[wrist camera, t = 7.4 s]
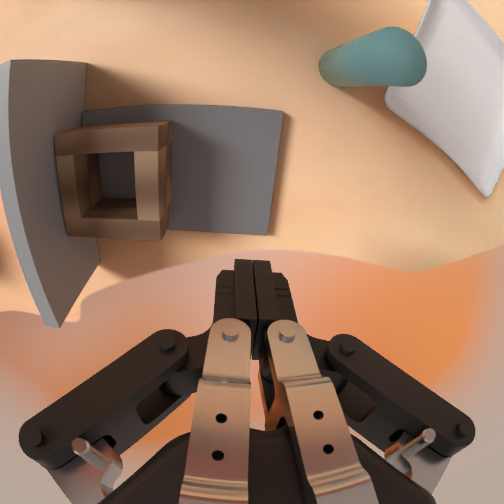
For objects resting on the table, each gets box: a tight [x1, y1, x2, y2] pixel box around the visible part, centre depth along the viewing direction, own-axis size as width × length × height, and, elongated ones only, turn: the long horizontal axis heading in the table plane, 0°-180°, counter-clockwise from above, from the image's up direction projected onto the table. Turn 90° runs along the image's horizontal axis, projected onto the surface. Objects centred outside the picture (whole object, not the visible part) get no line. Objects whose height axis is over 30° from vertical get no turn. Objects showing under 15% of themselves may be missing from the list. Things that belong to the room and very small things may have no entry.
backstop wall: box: [0, 60, 101, 328], centre depth 20 cm, size 24×2×12 cm, turn 174°
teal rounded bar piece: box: [319, 27, 427, 87], centre depth 17 cm, size 4×4×12 cm
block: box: [55, 121, 173, 241], centre depth 23 cm, size 10×10×5 cm
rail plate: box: [82, 105, 283, 235], centre depth 26 cm, size 13×20×1 cm, turn 84°
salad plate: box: [384, 0, 504, 198], centre depth 20 cm, size 21×21×3 cm
